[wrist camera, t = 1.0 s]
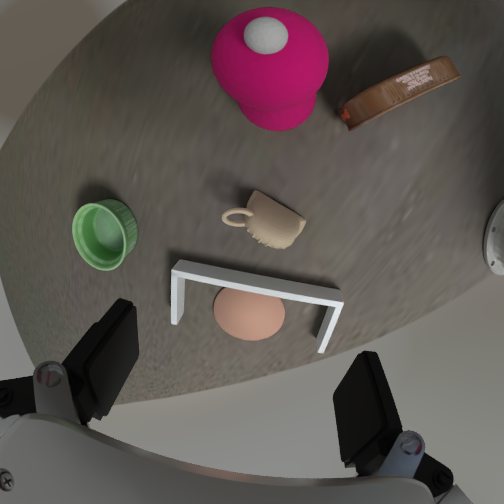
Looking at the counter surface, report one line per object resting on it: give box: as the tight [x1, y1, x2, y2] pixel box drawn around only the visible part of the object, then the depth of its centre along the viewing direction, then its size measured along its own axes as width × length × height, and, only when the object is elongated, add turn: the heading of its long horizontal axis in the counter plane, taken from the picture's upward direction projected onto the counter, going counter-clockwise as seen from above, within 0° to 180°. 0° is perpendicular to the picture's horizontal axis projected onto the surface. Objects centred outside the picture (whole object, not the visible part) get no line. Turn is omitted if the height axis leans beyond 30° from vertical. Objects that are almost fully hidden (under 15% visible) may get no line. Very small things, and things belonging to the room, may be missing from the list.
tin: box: [339, 56, 462, 131], centre depth 20 cm, size 15×3×8 cm, turn 124°
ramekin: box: [72, 199, 138, 270], centre depth 32 cm, size 9×9×4 cm
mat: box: [214, 287, 285, 340], centre depth 36 cm, size 10×10×1 cm
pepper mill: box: [211, 7, 329, 131], centre depth 17 cm, size 7×7×20 cm
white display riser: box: [171, 259, 344, 353], centre depth 34 cm, size 21×8×3 cm, turn 81°
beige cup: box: [222, 190, 306, 249], centre depth 29 cm, size 4×8×5 cm, turn 59°
